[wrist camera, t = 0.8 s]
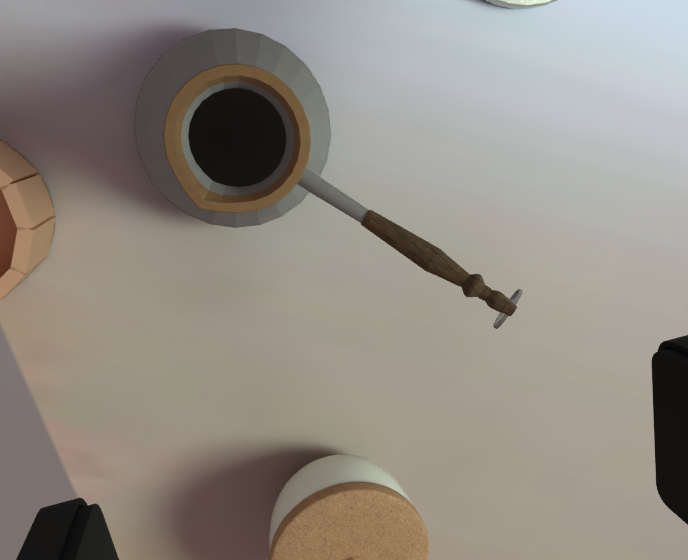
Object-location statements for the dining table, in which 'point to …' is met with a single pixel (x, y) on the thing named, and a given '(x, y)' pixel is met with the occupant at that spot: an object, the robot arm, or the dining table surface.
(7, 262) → the bowl
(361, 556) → the lidded jar
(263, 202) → the coffee pot
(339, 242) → the dining table surface
